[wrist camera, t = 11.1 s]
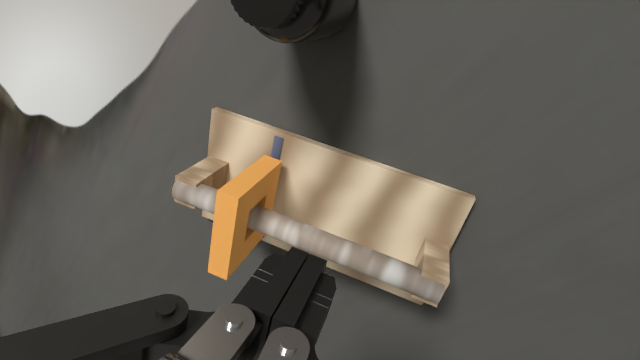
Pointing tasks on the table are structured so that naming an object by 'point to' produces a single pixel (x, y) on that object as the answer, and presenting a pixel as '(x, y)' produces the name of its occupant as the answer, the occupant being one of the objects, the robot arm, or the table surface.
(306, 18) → the supplement bottle
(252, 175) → the collar
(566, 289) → the table surface
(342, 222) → the pipe stand
